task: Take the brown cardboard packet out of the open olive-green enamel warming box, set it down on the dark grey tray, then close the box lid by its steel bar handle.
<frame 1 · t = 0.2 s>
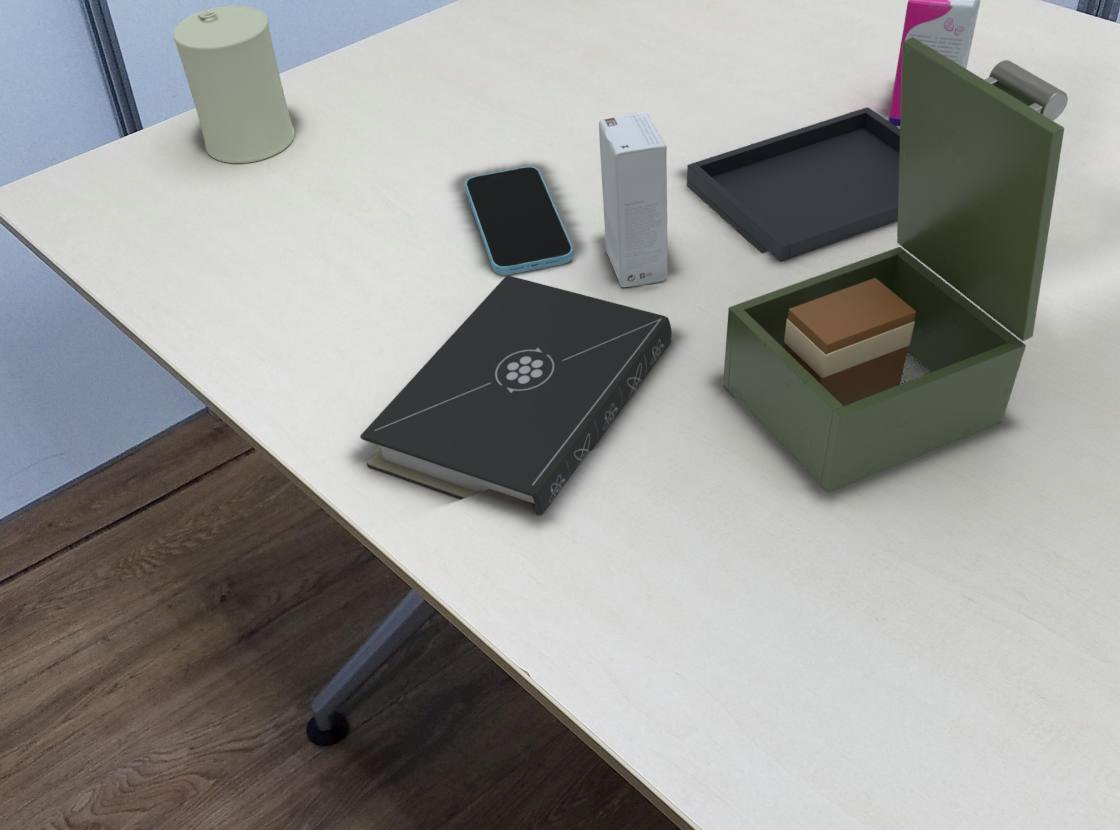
book: (524, 407, 89), on the table
tray: (825, 193, 105), on the table
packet: (834, 413, 85), point 1 cm above the table, touching green box base
green box base: (856, 412, 86), on the table
cosmetic box: (634, 267, 100), on the table
smartphone: (517, 226, 105), on the table
can: (251, 142, 120), on the table
supplement box: (922, 115, 113), on the table
lid: (996, 178, 75), point 16 cm above the table, hinge at 80.0°
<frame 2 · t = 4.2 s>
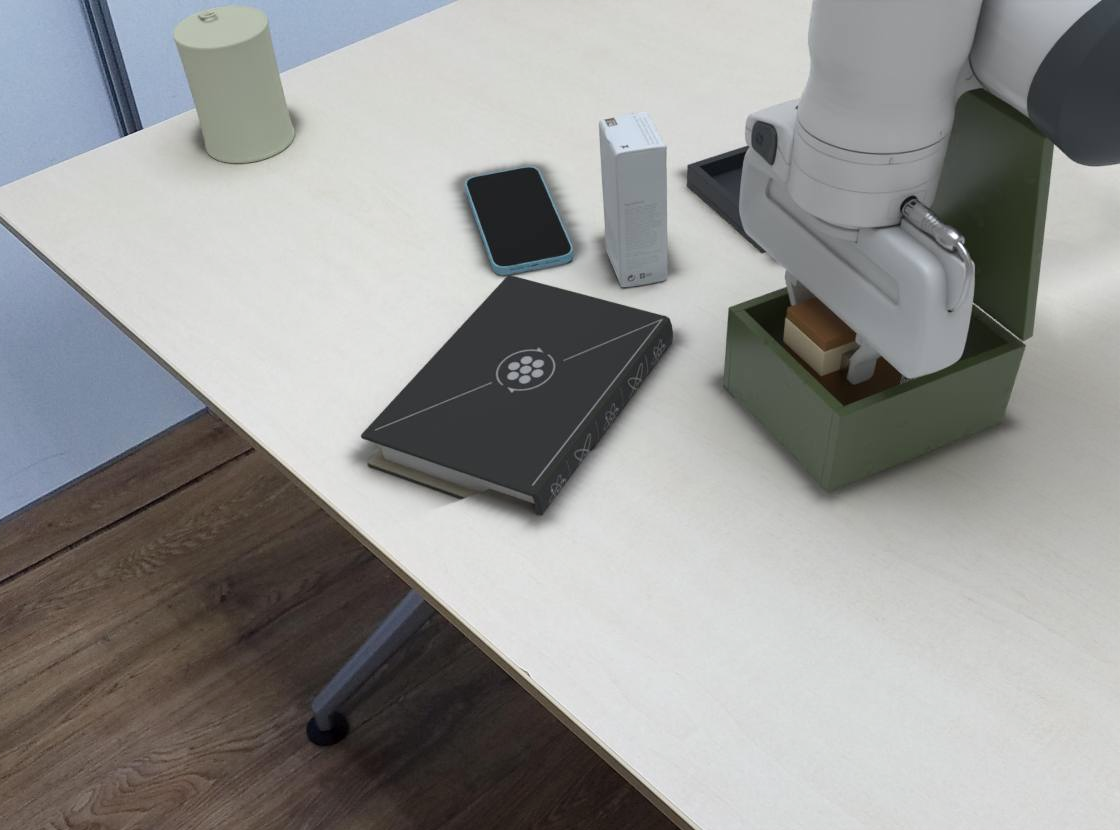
hand: (829, 352, 80), 7 cm above the table, tool pointing down, fingers closed on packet, 4 cm apart
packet: (834, 413, 85), point 1 cm above the table, touching gripper, green box base
lid: (993, 179, 75), point 16 cm above the table, hinge at 77.8°, touching arm
everything else where it was.
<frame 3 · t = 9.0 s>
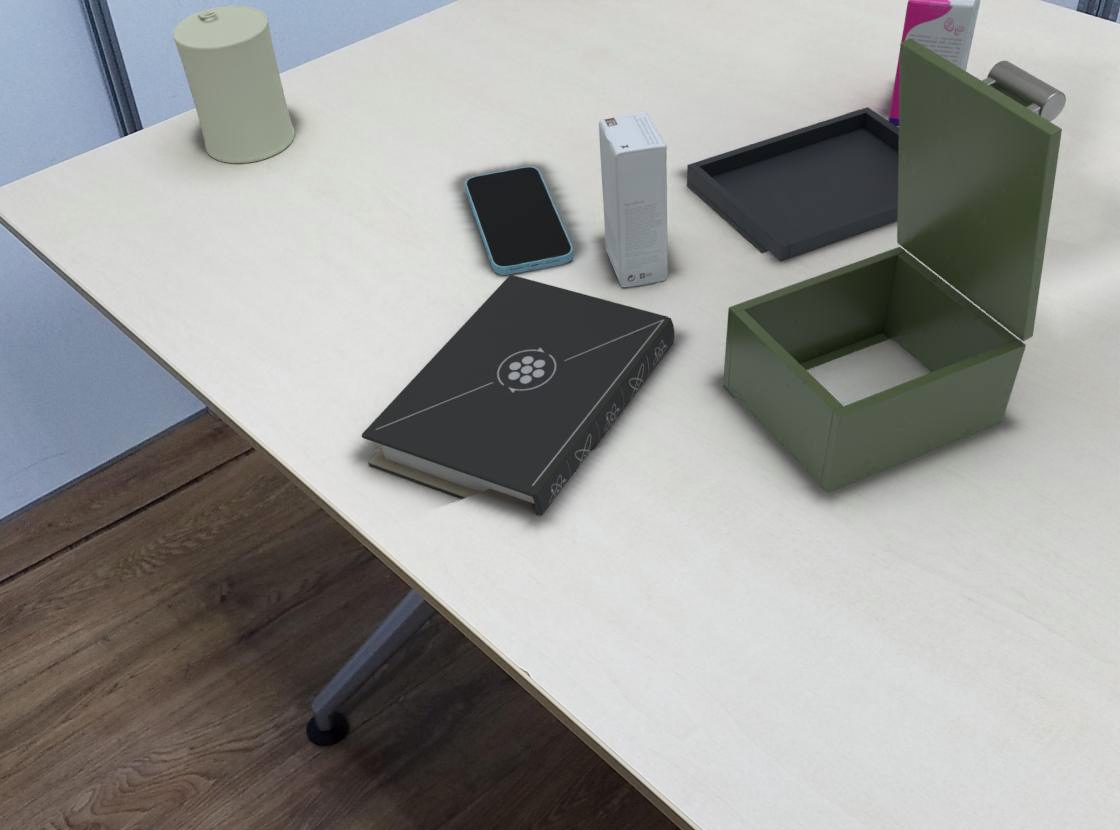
lid: (995, 179, 75), point 16 cm above the table, hinge at 79.4°
when the fingers open (6 cm above the table, at t = 14.2 s): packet stays where it is, resting on tray.
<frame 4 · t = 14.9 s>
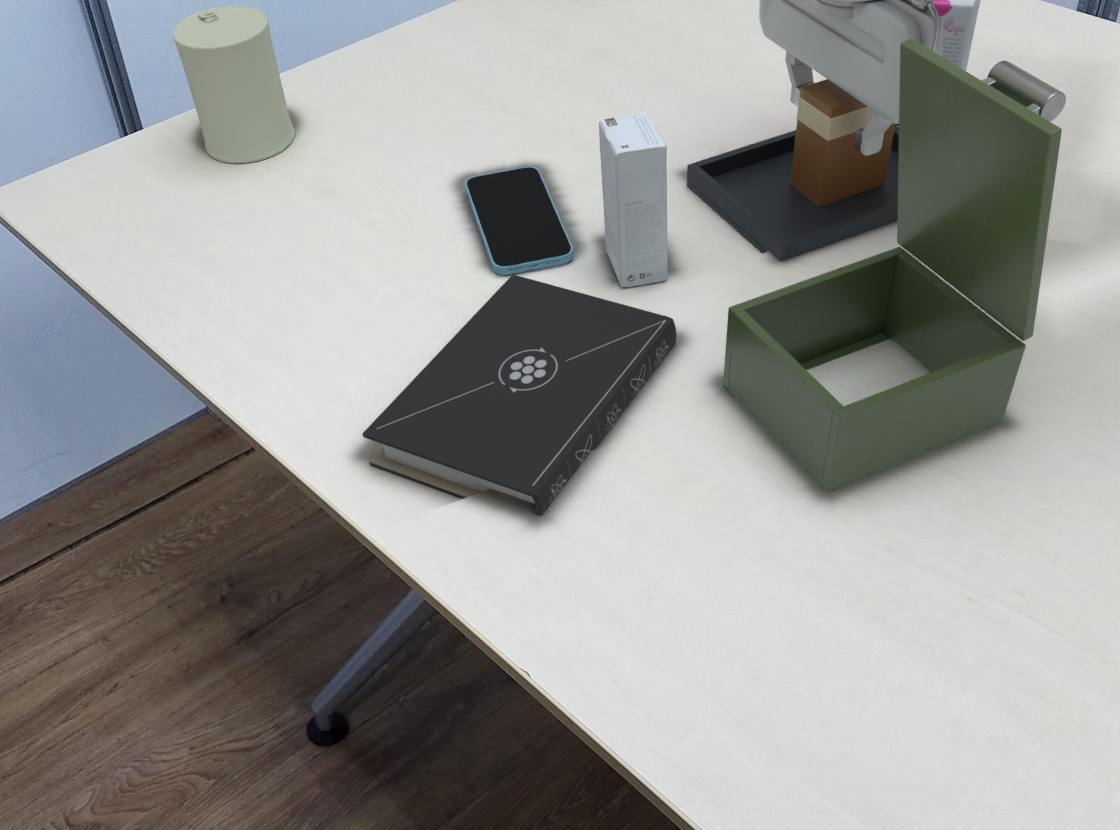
hand: (833, 127, 100), 6 cm above the table, tool pointing down, fingers open, 8 cm apart
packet: (837, 184, 105), point 1 cm above the table, touching tray
everything else where it was.
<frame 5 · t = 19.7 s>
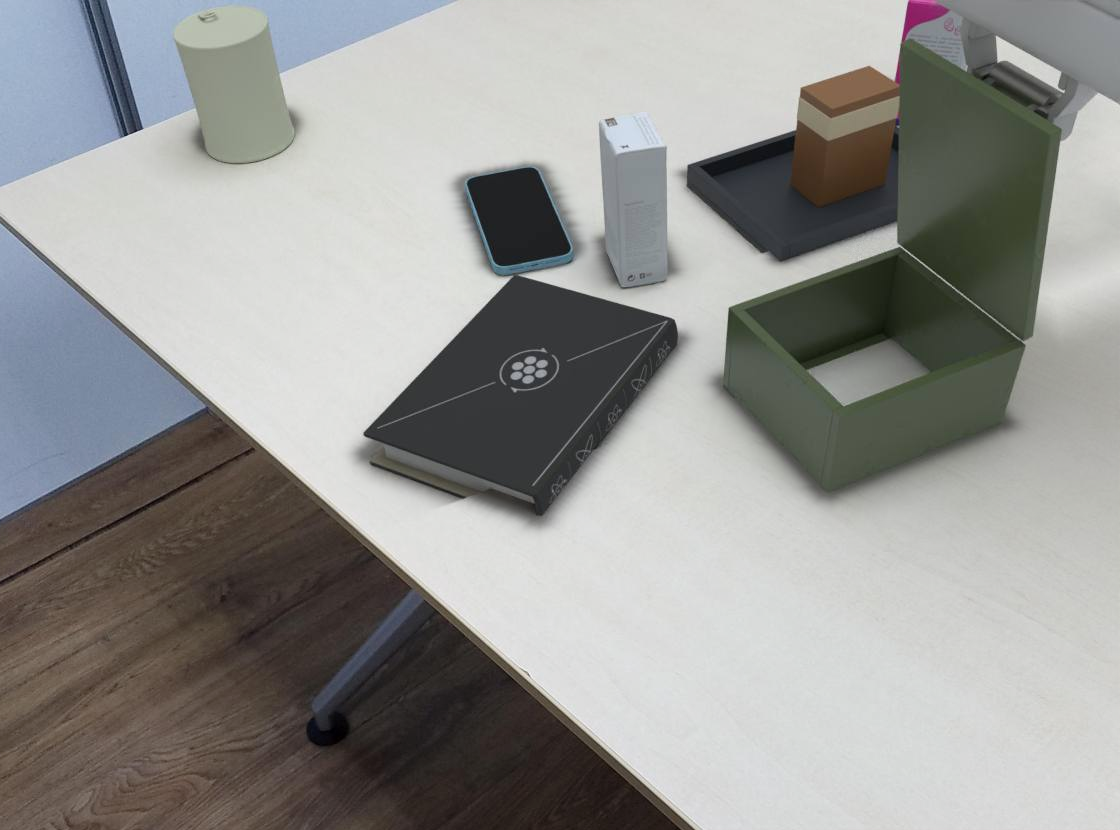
hand: (1013, 115, 72), 20 cm above the table, tool pointing down, fingers closed on lid, 5 cm apart
lid: (995, 179, 75), point 16 cm above the table, hinge at 79.4°, touching gripper
everything else where it was.
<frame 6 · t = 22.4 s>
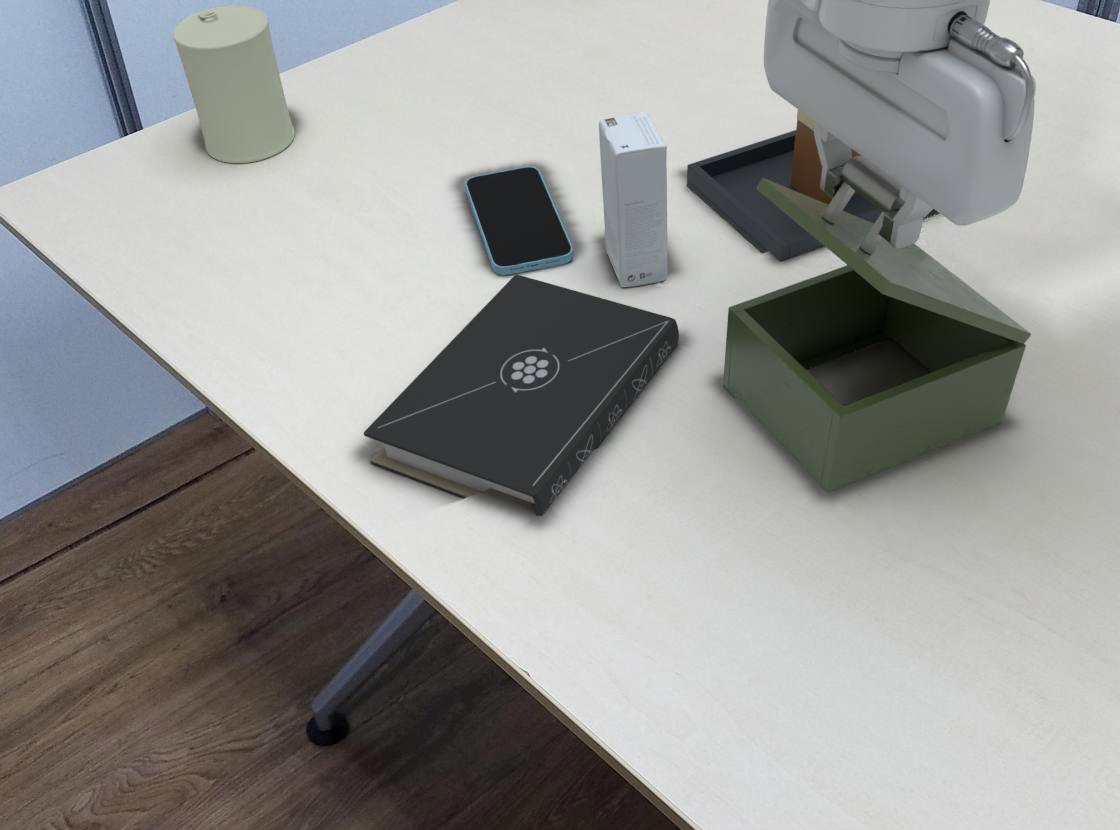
hand: (866, 216, 73), 17 cm above the table, tool pointing down, fingers closed on lid, 5 cm apart
lid: (914, 232, 75), point 14 cm above the table, hinge at 33.6°, touching gripper
everything else where it was.
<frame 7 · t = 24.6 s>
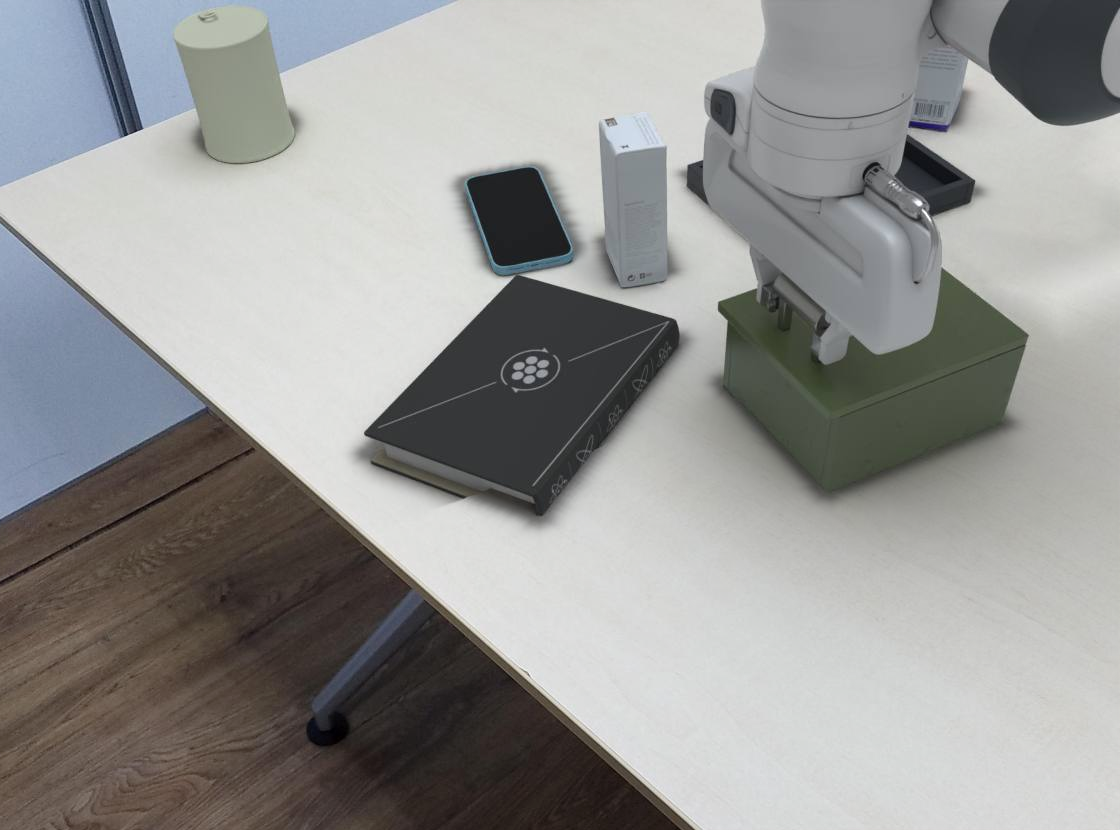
hand: (798, 329, 77), 10 cm above the table, tool pointing down, fingers closed on lid, 5 cm apart
lid: (872, 296, 78), point 10 cm above the table, hinge at -0.2°, touching gripper, green box base
everything else where it was.
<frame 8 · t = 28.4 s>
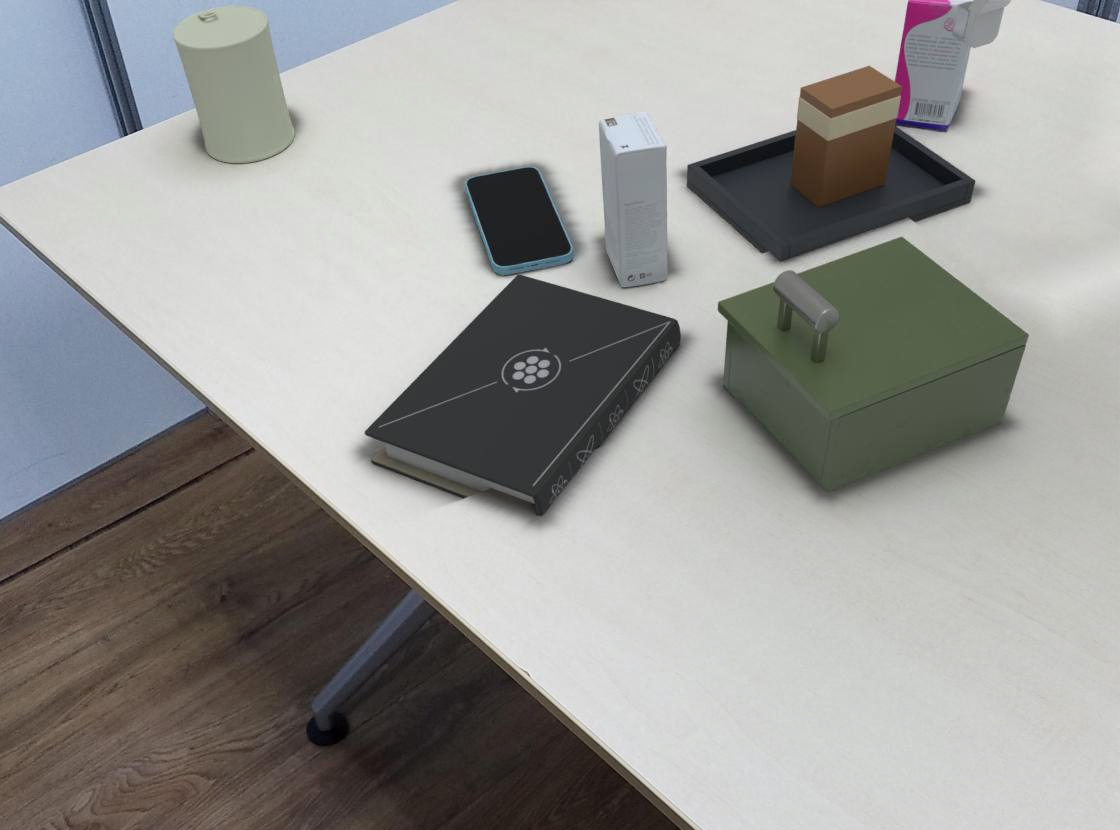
hand: (916, 8, 63), 29 cm above the table, tool pointing down, fingers open, 8 cm apart
lid: (872, 296, 78), point 10 cm above the table, hinge at -0.2°, touching green box base
everything else where it was.
at the end: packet inside the target area in the tray (1.1 cm from its centre), point 0.6 cm above the tray's base; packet tilted 0°; lid at +0° (first picture: +80°) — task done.
